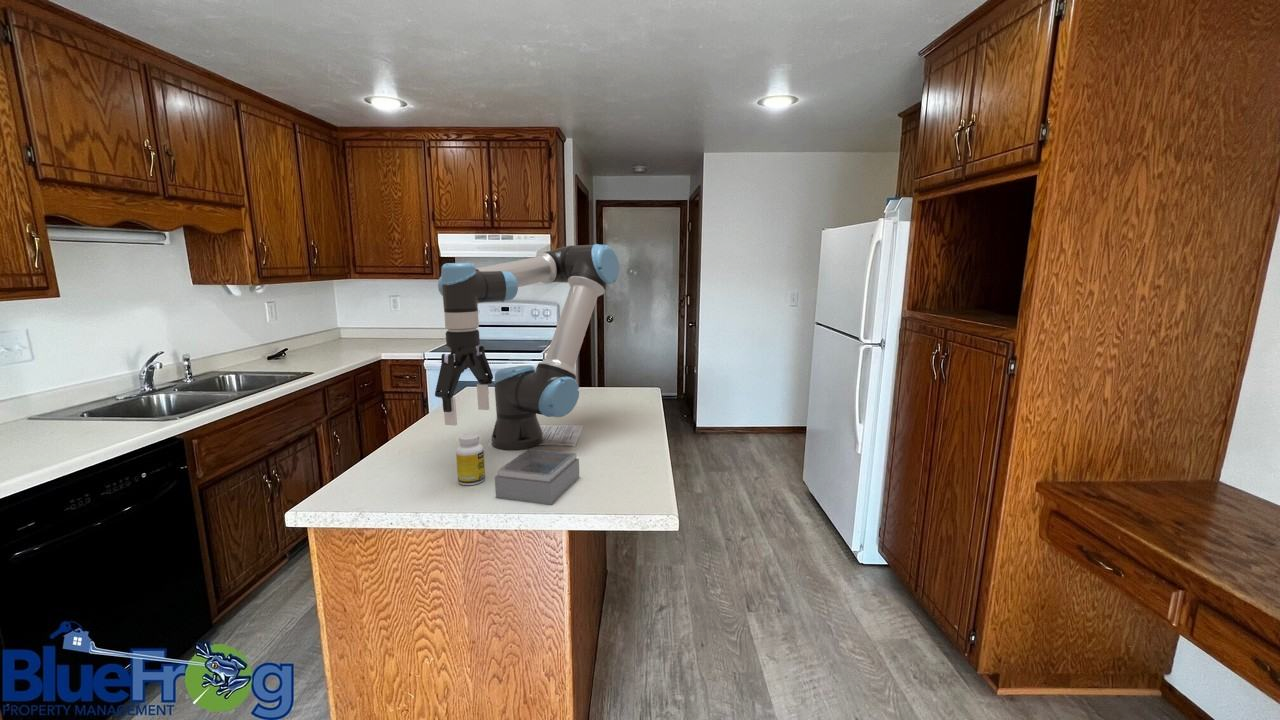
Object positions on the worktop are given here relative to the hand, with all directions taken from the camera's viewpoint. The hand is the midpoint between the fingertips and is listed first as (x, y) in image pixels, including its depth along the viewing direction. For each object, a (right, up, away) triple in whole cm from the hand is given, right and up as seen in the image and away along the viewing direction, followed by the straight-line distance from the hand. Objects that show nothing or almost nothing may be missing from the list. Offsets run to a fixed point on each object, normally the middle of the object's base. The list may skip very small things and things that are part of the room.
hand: (468, 416), depth 127 cm
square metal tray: (+17, -17, -1) cm, 24 cm away
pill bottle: (0, -16, +3) cm, 17 cm away
